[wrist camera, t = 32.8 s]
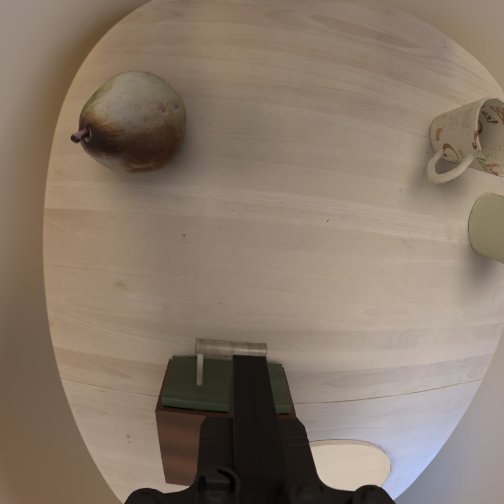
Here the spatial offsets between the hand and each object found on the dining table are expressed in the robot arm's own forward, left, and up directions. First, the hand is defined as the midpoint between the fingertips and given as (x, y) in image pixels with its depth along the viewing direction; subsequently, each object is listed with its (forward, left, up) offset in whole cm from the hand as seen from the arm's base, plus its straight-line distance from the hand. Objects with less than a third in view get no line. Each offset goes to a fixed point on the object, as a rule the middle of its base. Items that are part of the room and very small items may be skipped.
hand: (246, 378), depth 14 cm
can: (-8, +35, -21) cm, 41 cm away
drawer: (+17, 0, -20) cm, 26 cm away
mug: (-16, +23, -21) cm, 35 cm away
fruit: (-13, -11, -21) cm, 27 cm away
